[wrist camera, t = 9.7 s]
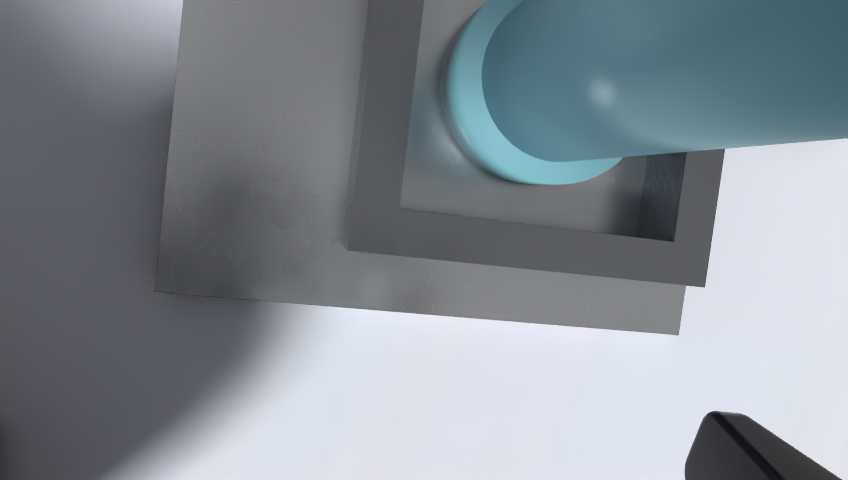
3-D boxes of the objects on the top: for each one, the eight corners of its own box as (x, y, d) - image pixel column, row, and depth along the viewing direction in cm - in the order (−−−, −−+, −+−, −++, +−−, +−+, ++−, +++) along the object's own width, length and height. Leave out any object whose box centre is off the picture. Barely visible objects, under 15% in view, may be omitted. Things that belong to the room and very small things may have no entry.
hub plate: (161, 286, 18) (138, 304, 15) (212, -222, 17) (197, -305, 14) (660, 328, 22) (719, 350, 19) (720, -91, 21) (791, -137, 18)
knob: (429, 172, 18) (750, 141, 6) (453, -24, 18) (852, -525, 5) (605, 195, 20) (1195, 213, 7) (630, 12, 19) (1299, -326, 7)
